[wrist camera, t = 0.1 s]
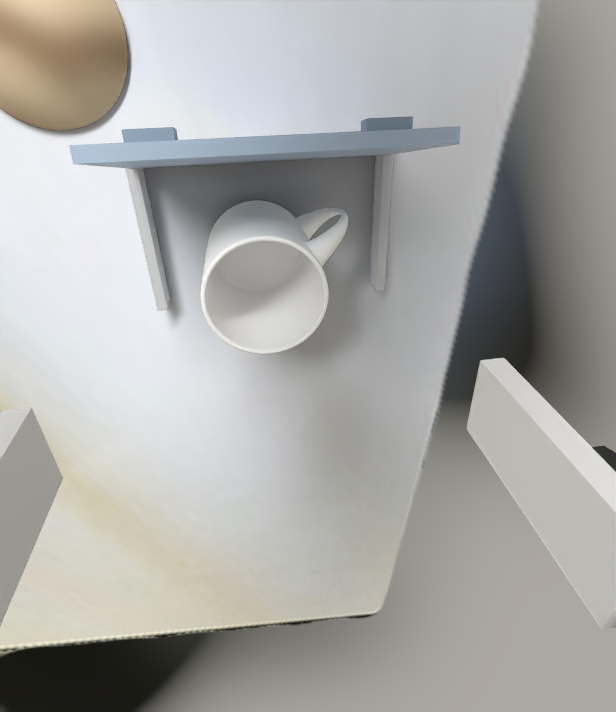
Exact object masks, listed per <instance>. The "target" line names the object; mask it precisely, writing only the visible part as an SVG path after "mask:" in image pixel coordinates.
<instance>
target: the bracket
mask: <svg viewBox="0 0 616 712" xmlns="http://www.w3.org/2000/svg"><path fill="white" fill-rule="evenodd" d="M393 160H394V154H392V155H380V156H376V162H375V183H374V204H373V224H372V245H371V266H370V284H371V285H372V287H373V288H374V289H375V291H376V292H379V291H385V279H386V264H387V249H388V234H389V219H390V204H391V190H392V175H393ZM125 169H126V173H127V178H128V182H129V187H130V191H131V195H132V200H133V204H134V208H135V213H136V217H137V222H138V226H139V230H140V235H141V239H142V243H143V248H144V252H145V257H146V261H147V265H148V270H149V274H150V278H151V283H152V287H153V291H154V296H155V300H156V305H157V309H158V311H161V310H168V306H169V303H170V295H169V290H168V285H167V281H166V276H165V271H164V266H163V262H162V257H161V252H160V247H159V242H158V238H157V233H156V228H155V223H154V219H153V214H152V209H151V204H150V199H149V195H148V190H147V185H146V180H145V176H144V171H143V168H139V169H128V168H125Z"/></svg>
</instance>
